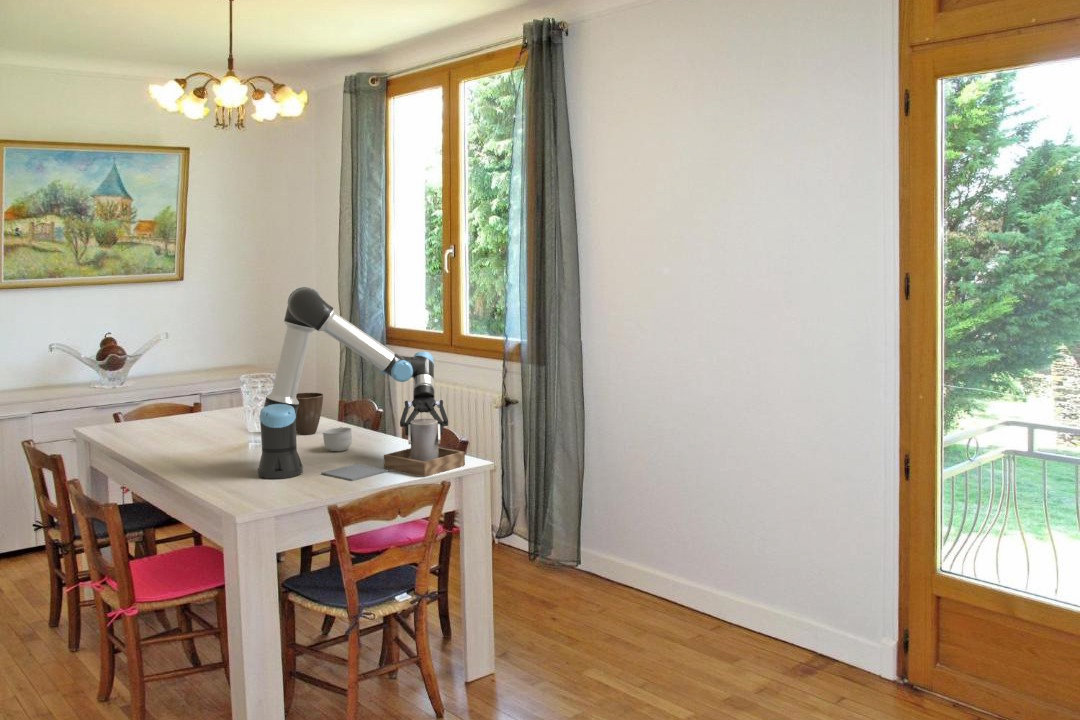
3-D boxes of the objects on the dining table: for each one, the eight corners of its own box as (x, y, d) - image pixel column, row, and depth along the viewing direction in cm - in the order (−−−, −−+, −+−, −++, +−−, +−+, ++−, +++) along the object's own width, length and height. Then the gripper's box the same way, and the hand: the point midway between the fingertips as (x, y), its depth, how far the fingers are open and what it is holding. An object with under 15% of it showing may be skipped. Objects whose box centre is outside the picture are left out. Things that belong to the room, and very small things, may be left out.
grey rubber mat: (352, 480, 332) (352, 479, 332) (321, 474, 342) (321, 472, 342) (387, 471, 345) (387, 469, 345) (356, 465, 355) (356, 463, 355)
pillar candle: (419, 455, 357) (418, 414, 354) (443, 457, 353) (442, 416, 351) (405, 461, 348) (404, 419, 346) (430, 463, 344) (429, 421, 342)
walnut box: (424, 477, 337) (424, 462, 336) (384, 468, 349) (383, 454, 348) (465, 465, 352) (464, 451, 351) (424, 458, 364) (424, 444, 364)
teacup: (345, 453, 374) (344, 432, 373) (318, 452, 376) (317, 431, 375) (359, 445, 387) (358, 425, 386) (333, 444, 390) (332, 424, 388)
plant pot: (280, 434, 411) (278, 396, 409) (308, 428, 423) (306, 391, 421) (304, 438, 402) (303, 399, 400) (332, 432, 414) (330, 394, 412)
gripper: (454, 395, 364) (456, 447, 350) (393, 396, 361) (392, 448, 348) (454, 383, 358) (456, 435, 344) (392, 384, 356) (391, 436, 342)
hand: (424, 441), depth 346 cm, fingers closed on pillar candle, 10 cm apart
